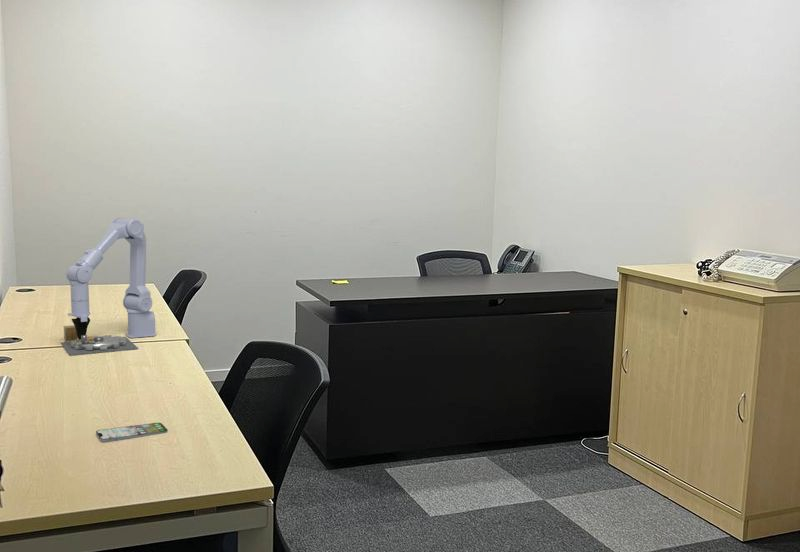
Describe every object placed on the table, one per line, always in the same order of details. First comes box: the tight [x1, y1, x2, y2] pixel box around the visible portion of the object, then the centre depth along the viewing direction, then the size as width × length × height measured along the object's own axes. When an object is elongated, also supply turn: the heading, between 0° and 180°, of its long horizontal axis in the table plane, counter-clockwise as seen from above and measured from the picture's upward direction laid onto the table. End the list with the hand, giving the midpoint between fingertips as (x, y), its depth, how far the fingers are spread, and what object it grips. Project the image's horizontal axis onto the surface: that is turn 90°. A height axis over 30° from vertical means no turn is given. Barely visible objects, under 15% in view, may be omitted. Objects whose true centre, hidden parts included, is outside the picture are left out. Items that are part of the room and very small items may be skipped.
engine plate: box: [60, 336, 139, 357], centre depth 267 cm, size 22×21×1 cm
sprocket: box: [70, 334, 127, 350], centre depth 266 cm, size 18×18×4 cm
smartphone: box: [95, 422, 169, 444], centre depth 179 cm, size 7×1×15 cm
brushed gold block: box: [63, 324, 79, 342], centre depth 275 cm, size 4×4×5 cm
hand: (81, 338), depth 265 cm, fingers closed
